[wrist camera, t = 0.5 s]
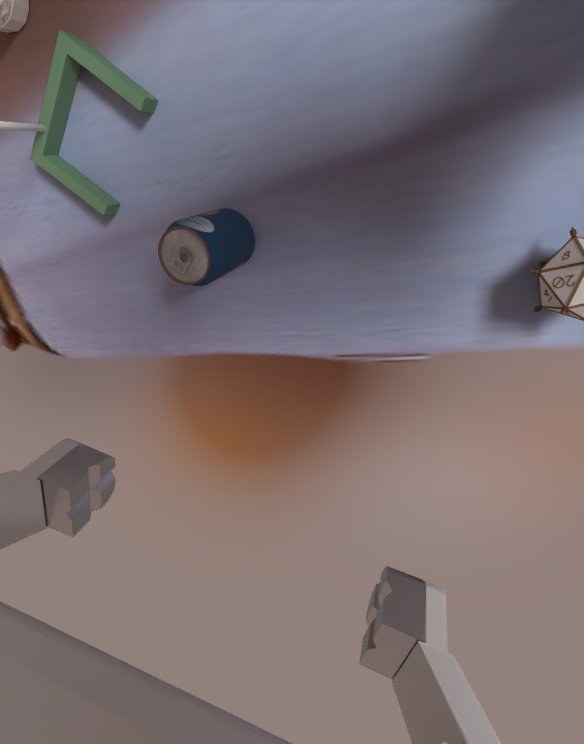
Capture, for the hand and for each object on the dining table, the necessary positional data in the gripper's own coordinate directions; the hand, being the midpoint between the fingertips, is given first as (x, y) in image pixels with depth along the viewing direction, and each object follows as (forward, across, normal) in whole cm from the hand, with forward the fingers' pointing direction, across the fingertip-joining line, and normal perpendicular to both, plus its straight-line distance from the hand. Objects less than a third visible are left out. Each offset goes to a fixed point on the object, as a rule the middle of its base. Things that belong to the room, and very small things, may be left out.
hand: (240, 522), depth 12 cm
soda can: (+42, +19, +4) cm, 46 cm away
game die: (+42, -19, -3) cm, 46 cm away
